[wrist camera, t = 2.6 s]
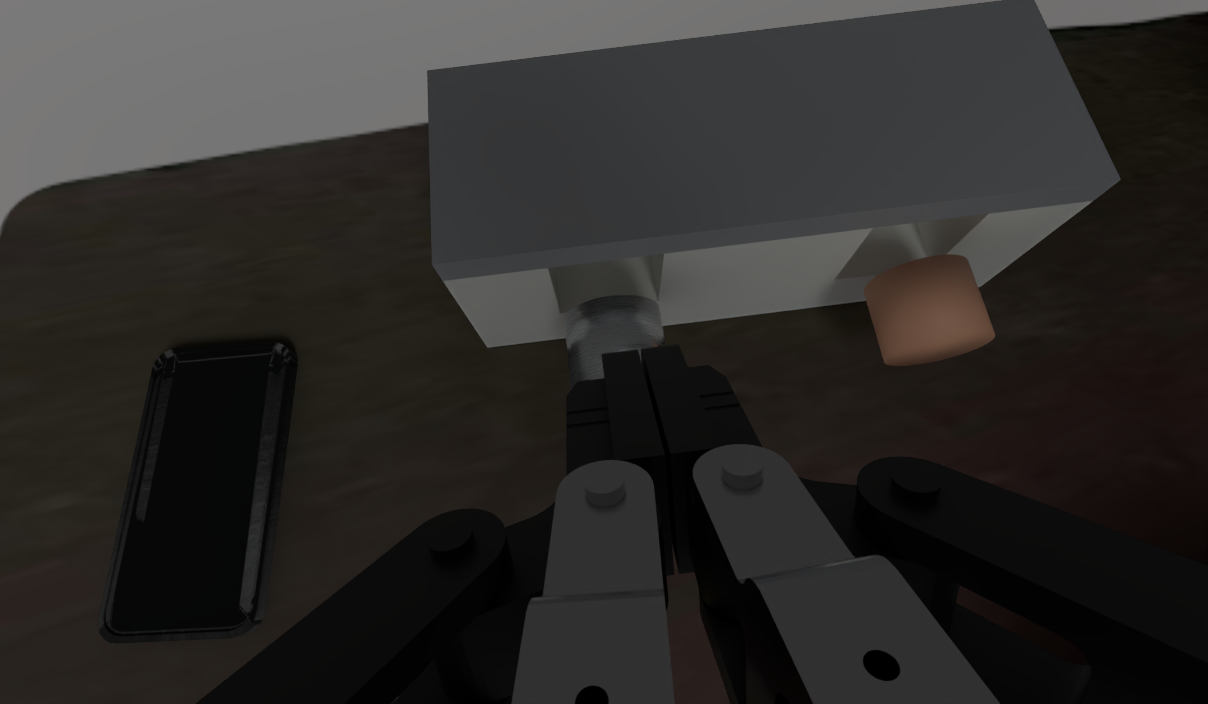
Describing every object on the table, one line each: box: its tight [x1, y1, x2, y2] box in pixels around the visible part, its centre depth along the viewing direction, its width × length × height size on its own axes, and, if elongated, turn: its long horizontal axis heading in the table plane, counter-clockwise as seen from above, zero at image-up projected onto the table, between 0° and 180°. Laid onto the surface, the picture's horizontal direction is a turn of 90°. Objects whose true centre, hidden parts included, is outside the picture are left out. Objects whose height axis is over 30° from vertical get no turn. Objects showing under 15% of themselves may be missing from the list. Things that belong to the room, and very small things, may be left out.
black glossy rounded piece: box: [564, 295, 666, 390], centre depth 26 cm, size 4×4×4 cm
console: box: [427, 0, 1121, 348], centre depth 30 cm, size 10×28×10 cm, turn 97°
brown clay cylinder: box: [864, 254, 995, 366], centre depth 26 cm, size 4×4×4 cm
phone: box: [98, 342, 298, 643], centre depth 31 cm, size 8×1×15 cm
